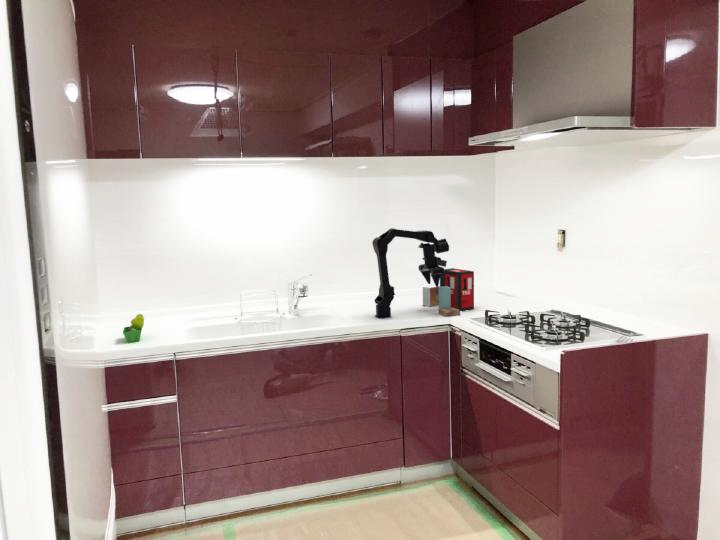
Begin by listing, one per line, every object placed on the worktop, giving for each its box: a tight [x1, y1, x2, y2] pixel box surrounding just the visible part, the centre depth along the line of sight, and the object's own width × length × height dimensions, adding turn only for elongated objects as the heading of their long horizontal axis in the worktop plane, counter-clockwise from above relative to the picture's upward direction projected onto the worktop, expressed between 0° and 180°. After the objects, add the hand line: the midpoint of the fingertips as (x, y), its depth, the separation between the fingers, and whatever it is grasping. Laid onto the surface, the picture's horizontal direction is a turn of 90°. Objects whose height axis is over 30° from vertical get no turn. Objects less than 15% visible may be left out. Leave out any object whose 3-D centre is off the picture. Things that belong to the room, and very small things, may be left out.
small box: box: [422, 284, 440, 308], centre depth 317 cm, size 8×6×10 cm
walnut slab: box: [437, 308, 461, 318], centre depth 294 cm, size 8×8×2 cm
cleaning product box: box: [439, 267, 475, 312], centre depth 308 cm, size 16×9×20 cm, turn 32°
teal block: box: [438, 286, 451, 309], centre depth 302 cm, size 4×4×12 cm
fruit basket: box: [122, 313, 145, 344], centre depth 259 cm, size 11×9×11 cm
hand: (433, 285), depth 299 cm, fingers open, 9 cm apart
